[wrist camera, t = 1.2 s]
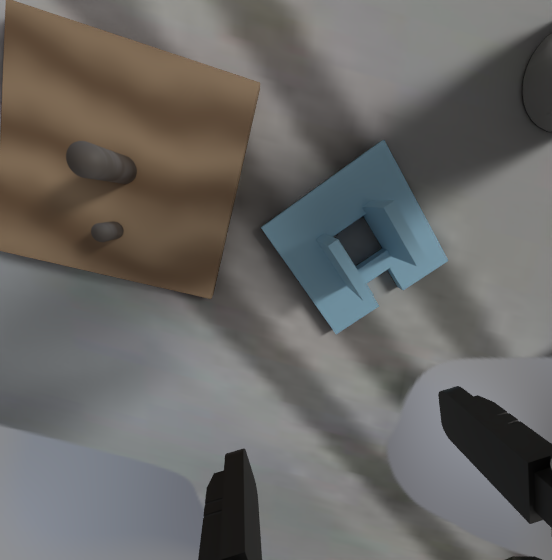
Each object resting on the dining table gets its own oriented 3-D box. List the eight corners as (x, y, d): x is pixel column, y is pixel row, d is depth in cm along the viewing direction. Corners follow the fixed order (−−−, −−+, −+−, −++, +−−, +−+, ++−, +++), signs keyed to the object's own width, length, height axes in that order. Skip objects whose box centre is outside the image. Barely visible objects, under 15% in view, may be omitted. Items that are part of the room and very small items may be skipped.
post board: (21, 10, 24) (-83, -75, 16) (259, 89, 26) (261, 45, 19) (9, 247, 28) (-76, 262, 21) (213, 294, 31) (200, 322, 24)
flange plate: (260, 227, 29) (262, 233, 23) (378, 142, 28) (412, 125, 22) (333, 329, 33) (350, 357, 27) (441, 258, 32) (484, 271, 26)
